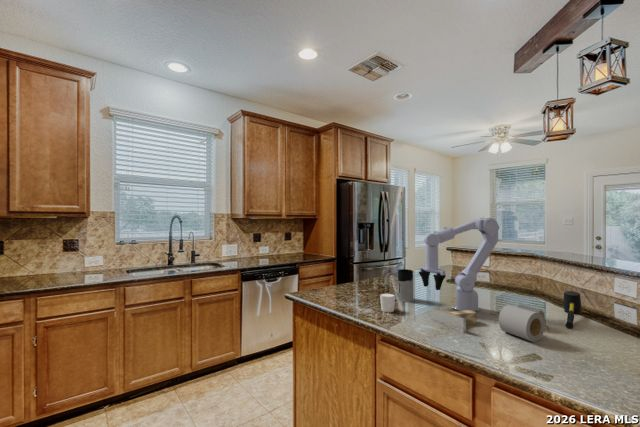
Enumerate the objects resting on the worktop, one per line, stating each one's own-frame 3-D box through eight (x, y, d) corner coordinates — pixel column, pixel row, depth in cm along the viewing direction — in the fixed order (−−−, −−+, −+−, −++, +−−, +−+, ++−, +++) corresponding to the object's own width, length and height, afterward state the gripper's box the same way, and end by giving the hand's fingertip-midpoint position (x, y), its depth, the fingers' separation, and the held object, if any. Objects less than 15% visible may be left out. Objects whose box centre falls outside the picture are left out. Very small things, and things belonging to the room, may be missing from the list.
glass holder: (416, 301, 155) (416, 272, 155) (388, 301, 155) (388, 272, 155) (411, 297, 164) (411, 269, 164) (384, 297, 164) (384, 269, 164)
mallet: (580, 331, 116) (579, 306, 116) (559, 328, 120) (559, 303, 120) (581, 313, 138) (581, 291, 138) (564, 310, 142) (563, 289, 142)
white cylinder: (539, 331, 116) (539, 310, 116) (515, 325, 122) (515, 305, 122) (547, 325, 123) (548, 305, 123) (524, 319, 129) (524, 301, 129)
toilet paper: (498, 333, 114) (498, 306, 114) (516, 329, 118) (516, 303, 118) (526, 344, 104) (526, 314, 104) (544, 339, 108) (544, 311, 108)
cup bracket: (473, 330, 116) (473, 317, 116) (463, 332, 114) (463, 319, 114) (440, 317, 131) (440, 306, 131) (431, 319, 129) (431, 307, 129)
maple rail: (470, 320, 128) (470, 309, 128) (476, 323, 125) (476, 312, 125) (445, 323, 125) (445, 312, 125) (451, 326, 122) (451, 314, 122)
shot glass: (395, 313, 137) (395, 297, 137) (380, 312, 139) (380, 296, 139) (395, 308, 144) (395, 293, 144) (380, 307, 145) (380, 292, 146)
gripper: (414, 257, 150) (414, 285, 150) (437, 261, 137) (437, 292, 137) (425, 256, 153) (425, 284, 153) (448, 260, 140) (448, 290, 139)
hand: (431, 288), depth 145 cm, fingers open, 7 cm apart
